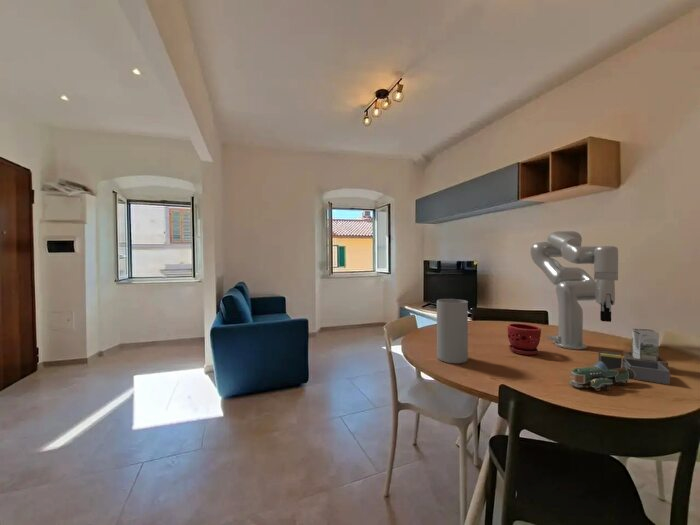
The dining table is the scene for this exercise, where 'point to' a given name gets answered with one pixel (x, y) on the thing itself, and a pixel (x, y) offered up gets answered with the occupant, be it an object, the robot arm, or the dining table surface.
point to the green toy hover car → (600, 376)
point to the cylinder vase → (452, 330)
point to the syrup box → (645, 344)
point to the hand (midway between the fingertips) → (605, 321)
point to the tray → (648, 370)
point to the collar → (660, 360)
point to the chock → (610, 359)
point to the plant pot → (524, 338)
